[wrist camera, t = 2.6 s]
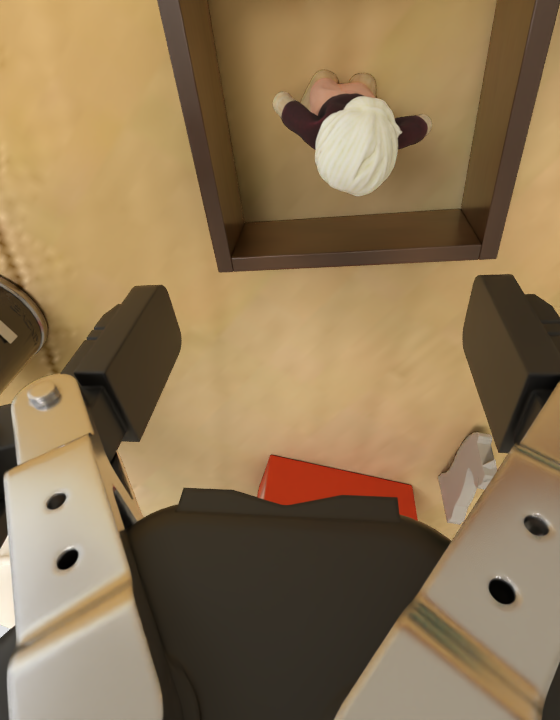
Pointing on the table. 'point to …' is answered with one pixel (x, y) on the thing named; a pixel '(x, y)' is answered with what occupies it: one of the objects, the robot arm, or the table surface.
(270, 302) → the table surface
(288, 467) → the file binder
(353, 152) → the grandmother figurine
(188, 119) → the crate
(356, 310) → the table surface
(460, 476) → the grey flat fragment
